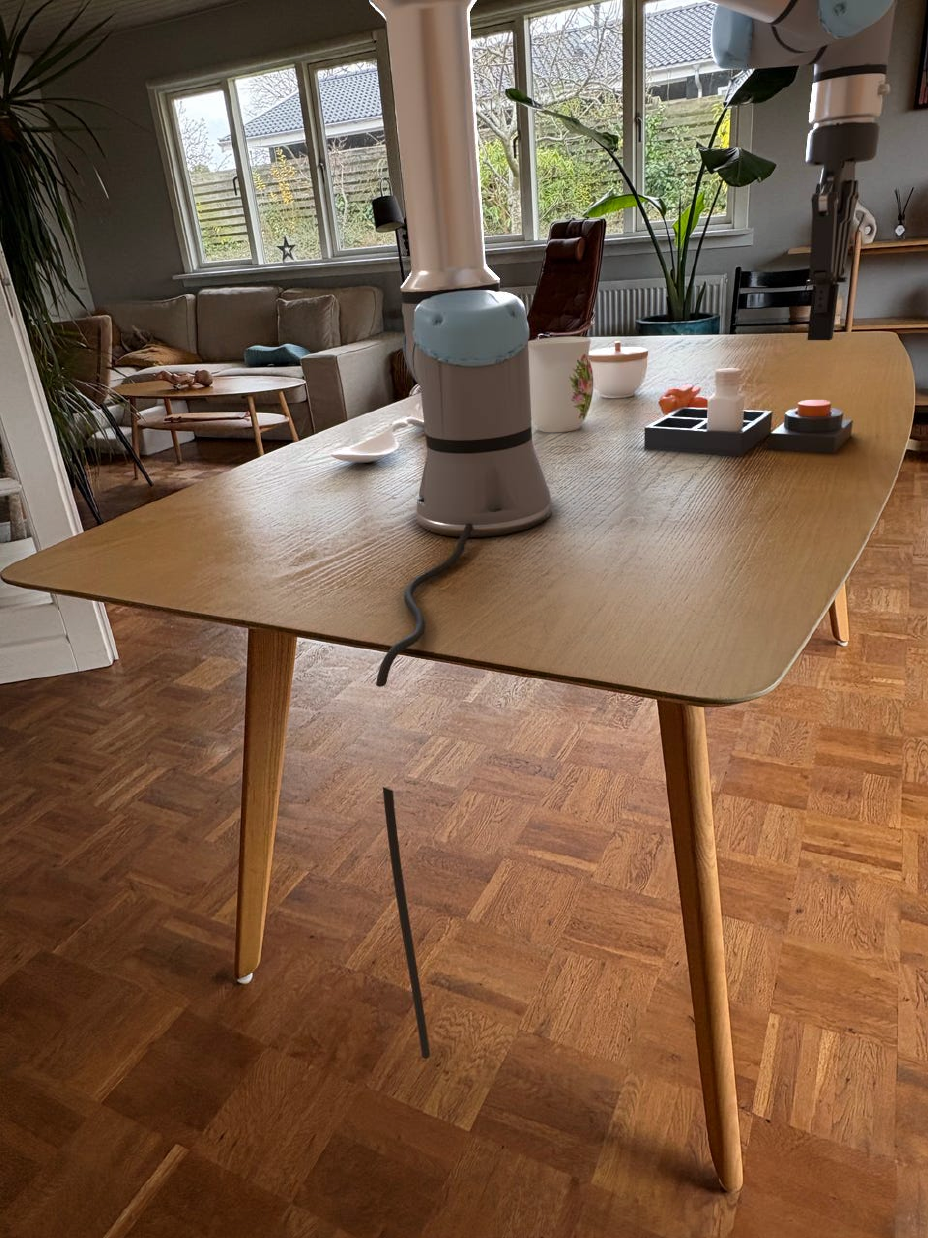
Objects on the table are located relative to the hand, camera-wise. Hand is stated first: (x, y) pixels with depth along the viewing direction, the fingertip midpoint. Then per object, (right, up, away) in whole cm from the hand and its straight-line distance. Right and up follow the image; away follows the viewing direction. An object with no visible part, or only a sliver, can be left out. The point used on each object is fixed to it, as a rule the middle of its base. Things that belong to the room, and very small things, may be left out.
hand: (819, 339), depth 103 cm
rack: (-11, -11, +11) cm, 19 cm away
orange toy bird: (-10, -4, +24) cm, 27 cm away
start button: (+1, -9, +4) cm, 10 cm away
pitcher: (-30, -5, +26) cm, 40 cm away
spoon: (-56, -8, +24) cm, 61 cm away
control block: (+1, -12, +6) cm, 13 cm away
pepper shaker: (-10, -12, +6) cm, 17 cm away
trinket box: (-17, +5, +46) cm, 49 cm away
